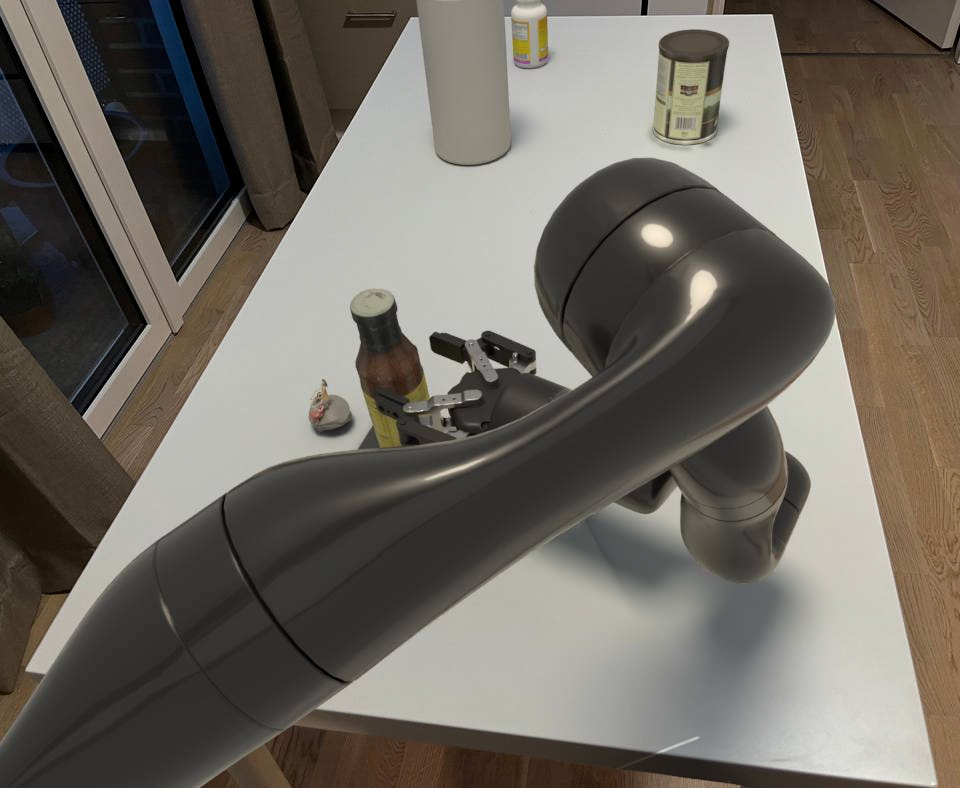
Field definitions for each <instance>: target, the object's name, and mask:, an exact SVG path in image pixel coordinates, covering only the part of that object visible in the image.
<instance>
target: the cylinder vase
mask: <svg viewBox="0 0 960 788" xmlns="http://www.w3.org/2000/svg"><path fill="white" fill-rule="evenodd" d="M415 2H416V9H417V16H418V17H417V18H418V25H419V32H420V41H421V49H422V56H423V57H422V58H423V65H424V73H425V81H426V89H427V97H428V104H429V112H430V113H429V114H430V121H431V129H432V136H433V144H434V150H435V153H436V154H437V155H438V156H439V157H440V159H442V160H444V161H446V162H449V163H451V164H455V165H460V166H462V165H463V166H475V165H482V164H487V163H489V162H490V163H491V162H492V161H494V160H497V159H499V158H501V157H502V156H503V155H505V153H506V152H508V150H509V148H510V146H511V145H512V134H511V132H512V131H511V116H510V115H511V112H510V94H509V75H508V74H509V73H508V56H507V53H508V52H507V38H506V37H507V35H506V17H505V16H506V15H505V0H416V1H415Z"/></svg>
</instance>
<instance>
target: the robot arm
mask: <svg viewBox="0 0 960 788" xmlns="http://www.w3.org/2000/svg"><path fill="white" fill-rule="evenodd" d="M533 279H534V280H533V281H534V283H533V285H534V290H535V293H536V297H537V301H538V304H539V307H540V309H541V311H542V313H543V316H544V317H545V319H546V321H547V322H548V324H549V326H550V327H551V329H552V331H553V332H554V334H555V336H557V338H558V339H559V340H560V341H561V342H562V344H563V345H564V346H565V348H566V349H567V350H568V351H569V352H570V353H571V354H572V355H573V356H574V358H575V359H576V360H577V361H578V362H579V363H580V365H581V366H582V367H583V368H584V369H585V370H586V372H587V373H588V374H589V375H590V376H591V377H590V378H589V379H587V380H585V381H584V382H583V383H581V384H579V385H578V386H576V387H574V388H573V389H571V388H569V387H566V386H564V385H562V384H558V383H556V382H554V381H552V380H548V379H546V378H544V377H541V376H538V375H537V352H536V350H535V349H533V348H532V347H529V346H528V345H527V346H526V345H525V344H522V343H520V342H517V341H515V340H512V338H511V339H510V338H508V337H506V336H504V335H502V334H499V333H497V332H495V331H492V330H484V331H482V332H481V334H480V337H479V338H477V339H471V338H470V339H467V340H466V339H463V338H461V337H458V336H455V335H453V334H452V333H451V334H450V333H447V332H438V331H434V332H432V333H431V334H430V335H429V336H428V340H429V346H430V350H431V352H433V353H434V354H436V355H438V356H441V357H443V358H446V359H448V360H451V361H453V362H455V363H459V364H461V365H464V363H465V362H466V364H467V366H468V368H469V371H470V372H469V371H466V372H465V373H464V374H463V376H462V377H461V379H460V381H459V382H458V383H457V384H456V385H454V386H452V387H451V388H450V389H449V390H448V392H447V393H446V394H438V395H432V396H430V399H429V400H428V401H418V402H410V401H409V399H408V398H406V397H403V396H401V395H399V394H396V393H394V392H392V391H390V390H387V389H385V388H383V387H381V386H378V387H377V388H376V389H375V390H374V391H373V396H374V401H375V404H376V408H377V410H378V411H379V412H380V413H382V414H384V415H386V416H389V417H390V418H392V419H395V420H397V422H396V426H397V429H398V433H399V440H400V444H401V445H402V446H397V447H384V448H371V449H360V450H358V449H350V450H340V451H335V452H325V453H319V454H312V455H308V456H301V457H298V458H297V457H296V458H293V459H289V460H285V461H283V462H280V463H277V464H274V465H271V466H269V467H267V468H264V469H262V470H260V471H259V472H257V473H256V472H255V474H253V475H252V476H250V477H248V478H247V479H245V480H243V481H241V482H240V483H238V484H236V485H235V486H234V487H232V488H230V489H229V490H228V491H227V492H224V494H222V495H221V496H219V497H218V498H216V499H215V500H213V501H212V502H210V503H209V504H208V505H206V506H205V507H204V508H202V509H200V510H199V511H198V512H196V513H194V514H193V515H191V516H190V517H189V518H187V519H186V520H185V521H183V522H182V523H180V524H178V525H177V526H175V527H174V528H173V529H172V530H170V531H168V532H167V533H166V534H164V535H163V536H161V537H159V538H158V539H156V540H155V541H154V542H153V543H151V545H149V546H148V547H146V548H145V549H144V550H143V551H141V552H140V553H139V554H138V555H137V556H135V558H133V559H132V560H131V562H129V563H128V564H127V565H126V566H125V567H124V568H123V569H122V570H121V571H120V572H119V573H118V574H117V575H116V576H115V577H114V578H113V580H112V581H111V582H110V583H109V584H108V585H107V586H106V588H105V589H103V591H102V593H100V595H98V597H97V598H96V600H95V601H94V603H93V604H92V605H91V606H90V608H89V609H88V611H87V612H86V614H85V615H84V616H83V618H82V619H81V621H80V622H79V623H78V625H77V626H76V628H75V629H74V631H73V632H72V634H71V635H70V637H69V638H68V639H67V641H66V642H65V644H64V646H63V647H62V649H61V650H60V651H59V653H58V655H57V656H56V658H55V659H54V661H53V662H52V664H51V666H50V667H49V668H48V670H47V671H46V673H45V674H44V675H43V677H42V679H41V680H40V682H39V683H38V685H37V686H36V688H35V689H34V691H33V693H31V696H30V697H29V699H28V700H27V702H26V704H25V705H24V707H23V708H22V709H21V711H20V713H19V714H18V715H17V716H16V719H15V720H14V721H13V724H12V725H10V728H9V729H8V730H7V732H6V733H5V735H4V736H3V738H2V739H1V741H0V788H201V787H203V786H204V785H205V784H207V783H208V782H210V781H212V780H213V779H214V778H216V777H217V776H218V775H220V774H221V773H222V772H224V771H226V770H227V769H228V768H230V767H231V766H233V765H234V764H236V763H237V762H239V761H240V760H242V759H244V758H245V757H246V756H248V755H249V754H251V753H252V752H254V751H255V750H257V749H258V748H260V747H262V746H264V745H265V744H266V743H268V742H269V741H271V740H272V739H274V738H276V737H277V736H278V735H281V733H283V732H285V731H287V730H288V729H289V728H291V727H292V726H294V725H295V724H296V723H298V722H300V721H301V720H302V719H303V718H305V717H306V716H308V715H309V714H310V713H312V712H313V711H315V710H316V709H318V708H319V707H321V706H322V705H323V704H325V703H326V702H328V701H329V700H330V699H332V698H333V697H335V696H336V695H338V694H339V693H340V692H342V691H343V690H345V689H346V688H347V687H348V686H350V685H351V684H353V683H355V681H357V680H359V679H360V678H361V677H363V676H364V675H365V674H366V673H368V672H369V671H371V670H372V669H373V668H374V667H376V666H377V665H378V664H380V663H381V662H383V661H384V660H385V659H386V658H388V657H389V656H390V655H391V654H393V653H394V652H396V650H398V649H399V648H401V647H402V646H404V644H406V643H408V642H409V641H410V640H411V639H413V638H414V637H415V636H416V635H418V634H419V633H421V631H423V630H424V629H426V628H427V627H428V626H430V625H431V624H432V623H434V622H435V621H436V620H438V619H439V618H440V617H442V616H443V615H445V614H447V612H449V611H450V610H451V609H453V608H454V607H456V606H457V605H459V604H460V603H461V602H462V601H464V600H465V599H467V598H468V597H470V596H471V595H473V594H474V593H475V592H476V591H478V590H480V589H481V588H482V587H484V586H485V585H487V584H488V583H490V582H491V581H492V580H494V579H496V578H497V577H498V576H500V575H501V574H502V573H505V571H507V570H508V569H510V568H511V567H512V566H514V565H515V564H517V563H518V562H520V561H521V560H523V559H524V558H526V557H527V556H529V555H530V554H532V553H533V552H535V551H536V550H538V549H539V548H541V547H543V546H545V545H546V544H547V543H549V542H550V541H552V540H554V539H555V538H556V537H558V536H560V535H562V534H564V533H565V532H566V531H568V530H570V529H571V528H573V527H575V526H576V525H578V524H579V523H582V522H583V521H584V520H586V519H588V518H589V517H591V516H593V515H594V514H596V513H598V512H599V511H601V510H603V509H605V508H606V507H608V506H610V505H611V504H613V503H614V504H616V505H618V506H620V507H623V508H624V509H628V510H630V511H632V512H635V513H638V514H642V515H650V514H653V513H655V512H656V511H658V510H659V509H660V508H661V507H662V506H663V505H664V504H665V503H666V501H668V499H669V498H670V496H671V495H672V494H673V493H674V491H675V490H676V489H677V488H678V489H679V491H680V492H681V493H680V500H679V527H680V534H681V539H682V541H683V543H684V545H685V547H686V549H687V551H688V553H689V554H690V556H691V557H692V558H693V559H694V560H695V562H697V564H698V565H699V566H701V568H703V569H704V570H706V571H707V572H708V573H710V574H711V575H713V576H714V577H717V578H718V579H721V580H723V581H726V582H729V583H734V584H740V585H741V584H742V585H749V584H754V583H758V582H761V581H764V580H765V579H767V578H768V577H770V576H771V575H772V574H773V573H774V572H775V571H776V569H777V568H778V567H779V564H780V563H781V561H782V558H783V556H784V554H785V551H786V550H787V546H788V544H789V542H790V540H791V537H792V535H793V533H794V531H795V528H796V526H797V523H798V521H799V519H800V516H801V514H802V513H803V510H804V508H805V505H806V503H807V501H808V499H809V495H810V492H811V488H812V480H811V478H810V474H809V472H808V470H807V469H806V467H805V466H804V465H803V464H802V463H801V462H800V460H799V459H798V458H796V457H795V456H794V455H793V454H791V453H790V452H788V451H787V450H785V445H784V442H783V438H782V434H781V431H780V427H779V425H778V423H777V421H776V419H775V417H774V415H773V412H771V410H770V408H769V406H768V405H770V404H771V403H773V402H774V401H775V400H776V399H777V398H778V397H780V395H782V394H783V393H784V392H785V391H786V390H788V389H789V387H791V385H792V384H794V382H796V380H798V378H800V377H801V376H802V374H803V373H805V371H806V370H807V369H808V367H809V366H810V365H811V364H812V363H813V362H814V360H815V359H816V357H817V356H818V355H819V353H820V352H821V350H822V349H823V347H824V345H825V344H826V342H827V340H828V339H829V337H830V335H831V331H832V330H833V326H834V324H835V319H836V302H835V296H834V295H835V294H834V293H833V291H832V289H831V287H830V284H829V283H828V282H827V280H826V279H825V277H823V276H822V274H821V273H820V272H819V271H818V270H817V269H816V268H815V267H814V265H812V264H811V263H810V262H809V261H808V260H807V259H806V258H805V257H804V256H803V255H801V254H800V253H799V252H798V251H796V250H795V249H794V248H793V247H791V245H790V244H788V243H787V242H785V241H784V240H783V239H781V238H780V237H779V236H777V234H776V232H775V233H774V232H773V231H772V230H771V229H770V228H769V227H767V226H766V225H765V224H764V223H762V222H760V220H758V219H757V218H756V217H754V216H753V215H752V214H750V213H749V212H748V211H746V210H745V208H742V207H741V206H740V205H739V204H738V203H737V202H735V201H734V200H733V199H731V198H730V197H729V196H727V195H726V194H724V193H723V192H721V191H720V190H719V189H718V188H717V187H716V186H714V185H713V184H712V183H710V182H709V181H707V180H706V179H704V178H703V177H701V176H699V175H698V174H695V173H694V172H692V171H690V170H688V169H687V168H685V167H683V166H681V165H678V164H677V163H674V162H672V161H668V160H665V159H659V158H657V157H632V158H628V159H625V160H620V161H616V162H613V163H611V164H608V166H605V167H603V168H601V169H599V170H596V171H595V172H594V173H592V174H591V175H589V176H588V177H587V178H585V179H584V180H582V181H581V182H580V183H579V184H577V185H576V186H575V187H574V188H573V189H572V190H571V191H570V192H569V193H568V194H567V195H566V196H565V197H564V199H563V200H562V201H561V202H560V204H559V205H558V206H557V207H556V209H555V210H554V211H553V212H552V214H551V216H550V217H549V220H548V221H547V222H546V225H545V226H544V228H543V231H542V233H541V235H540V238H539V241H538V244H537V246H536V250H535V257H534V264H533ZM491 361H493V362H495V363H497V364H500V365H502V366H504V367H500V368H498V367H497V368H494V366H493V365H492V363H491ZM445 409H446V410H447V412H448V415H449V417H445V416H443V415H442V410H445ZM423 414H430V415H431V416H425V417H419V415H423ZM449 431H458V432H455V433H450V432H449Z"/></svg>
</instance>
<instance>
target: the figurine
mask: <svg viewBox="0 0 960 788" xmlns="http://www.w3.org/2000/svg"><path fill="white" fill-rule="evenodd" d="M320 382H321V383H320V387H318V388H317V389H315V391H314V392H313V394H312V395H311V397H310V398H309V400H310V401H309V406H310V407H309V410H308V420H309V422H310V425H311V426H312V427H313V428H314V429H315V430H316V431H317V432H324V431H333V430H336V429H338V428H340V427H343V426H344V425H345V424H346V423H348V422H350V421H351V420H352V418H353V414H352V411H351V408H350V405H349V403H348V401H347V400H346V399H345V398H344V397H342V396H340V395H337V394H328V391H327V389H328V388H329V384H328V383H327V381H326V379H325V378H321V381H320ZM320 389H321V391H319V390H320Z"/></svg>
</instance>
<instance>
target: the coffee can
mask: <svg viewBox="0 0 960 788" xmlns="http://www.w3.org/2000/svg"><path fill="white" fill-rule="evenodd" d="M729 46H730V40H729V38H728V37H726V36H725V34H722V33H720V32H717V31H713V30H708V29H700V28H699V29H694V28H693V29H692V28H691V29H681V30H676V31H672V32H669V33H667V34H665V35H664V36H662V37H660V38H659V41H658V59H657V61H658V62H657V74H656V89H655V101H654V113H653V125H652V133H653V135H654V136H655V137H657V139H659V140H661V141H663V142H666V143H669V144H673V145H681V146H682V145H683V146H684V145H686V146H688V145H696V144H701V143H704V142H708V141H709V140H711V139H713V138H714V137H715V136H716V134H717V132H718V122H719V114H720V105H721V99H722V91H723V83H724V76H725V69H726V63H727V55H728V50H729Z"/></svg>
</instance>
